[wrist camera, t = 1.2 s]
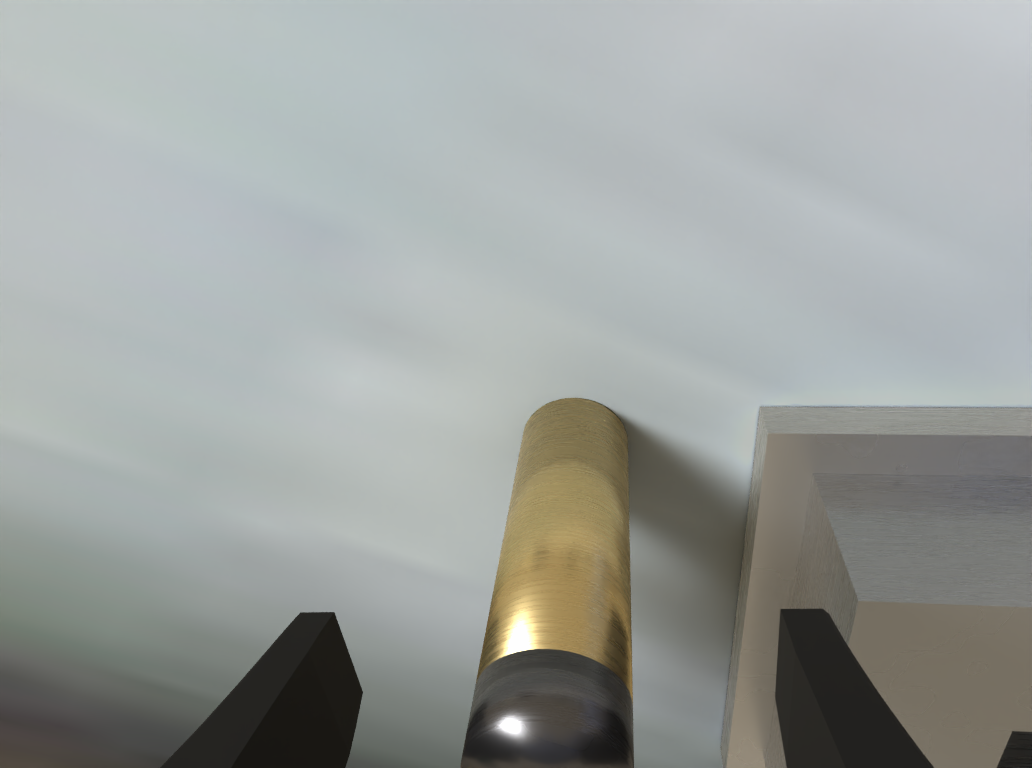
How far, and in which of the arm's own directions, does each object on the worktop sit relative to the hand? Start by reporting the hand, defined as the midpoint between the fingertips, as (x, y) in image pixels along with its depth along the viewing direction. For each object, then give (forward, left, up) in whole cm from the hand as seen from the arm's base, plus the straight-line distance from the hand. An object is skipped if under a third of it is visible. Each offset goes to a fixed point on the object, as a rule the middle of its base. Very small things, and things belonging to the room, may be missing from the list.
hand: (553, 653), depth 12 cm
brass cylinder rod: (0, 0, -6) cm, 6 cm away
